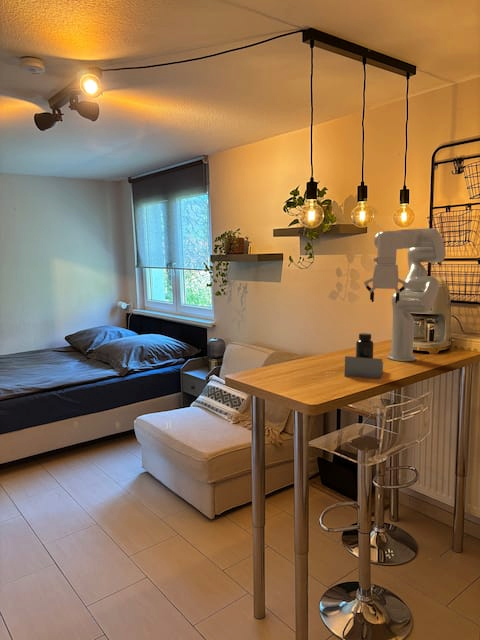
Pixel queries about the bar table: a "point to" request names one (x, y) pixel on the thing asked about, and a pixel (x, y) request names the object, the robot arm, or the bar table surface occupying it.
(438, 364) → the bar table surface
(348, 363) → the shelf block
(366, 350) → the supplement bottle
